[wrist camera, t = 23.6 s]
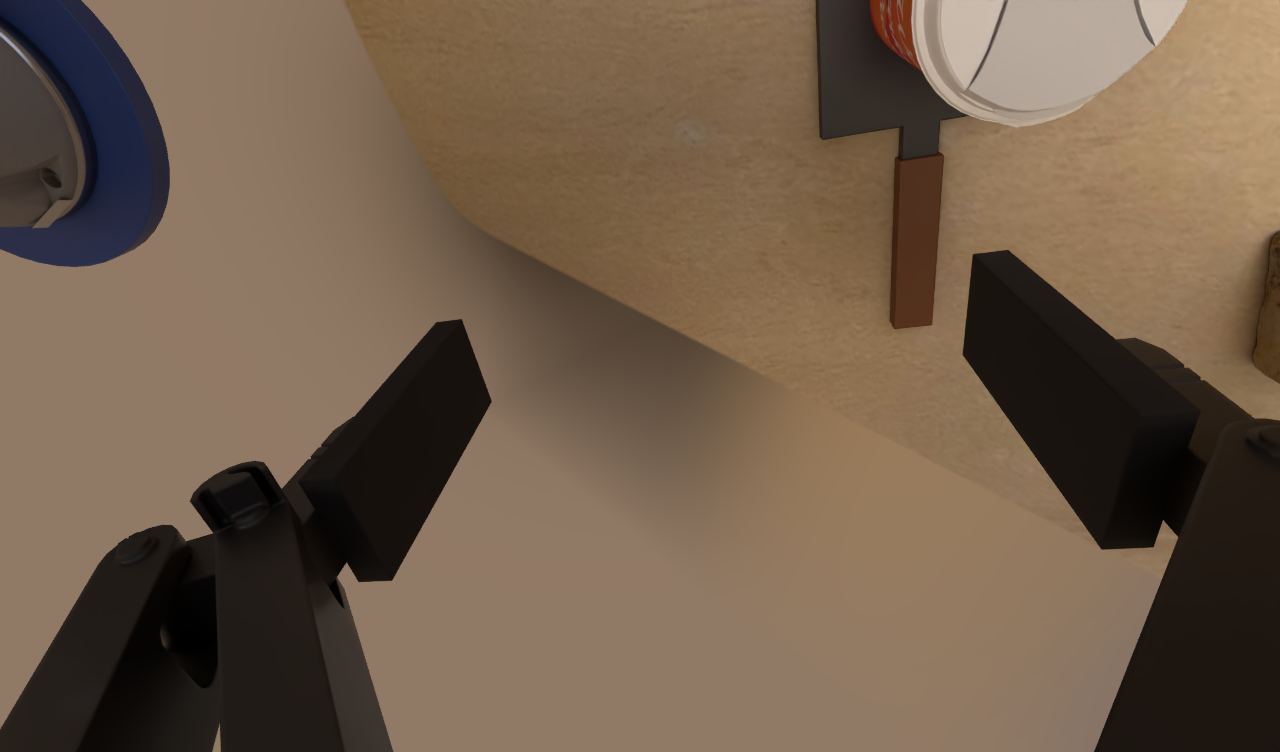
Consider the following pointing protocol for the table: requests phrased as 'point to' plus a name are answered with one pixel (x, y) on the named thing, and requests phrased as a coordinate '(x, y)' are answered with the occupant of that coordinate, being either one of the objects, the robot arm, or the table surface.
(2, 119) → the robot arm
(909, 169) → the spatula
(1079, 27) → the coffee cup
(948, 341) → the table surface
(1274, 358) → the rock
